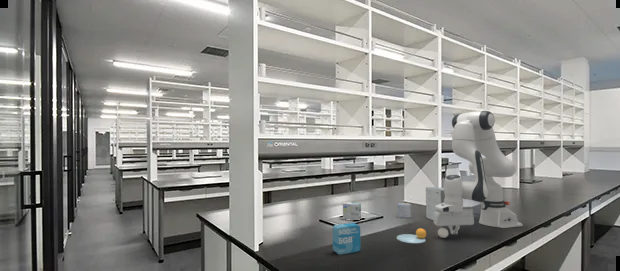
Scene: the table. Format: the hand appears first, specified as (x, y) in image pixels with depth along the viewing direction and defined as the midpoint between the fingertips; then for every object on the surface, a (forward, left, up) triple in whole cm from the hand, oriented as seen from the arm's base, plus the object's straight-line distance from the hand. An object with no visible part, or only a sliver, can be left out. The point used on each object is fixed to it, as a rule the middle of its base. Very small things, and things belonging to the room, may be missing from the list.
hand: (454, 233), depth 157 cm
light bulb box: (+44, -41, -2) cm, 60 cm away
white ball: (+6, 0, +1) cm, 6 cm away
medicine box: (+9, -43, -2) cm, 44 cm away
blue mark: (+23, 0, -2) cm, 23 cm away
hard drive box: (-9, -33, -2) cm, 34 cm away
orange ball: (+18, 0, +1) cm, 18 cm away
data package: (+59, +14, -2) cm, 61 cm away
